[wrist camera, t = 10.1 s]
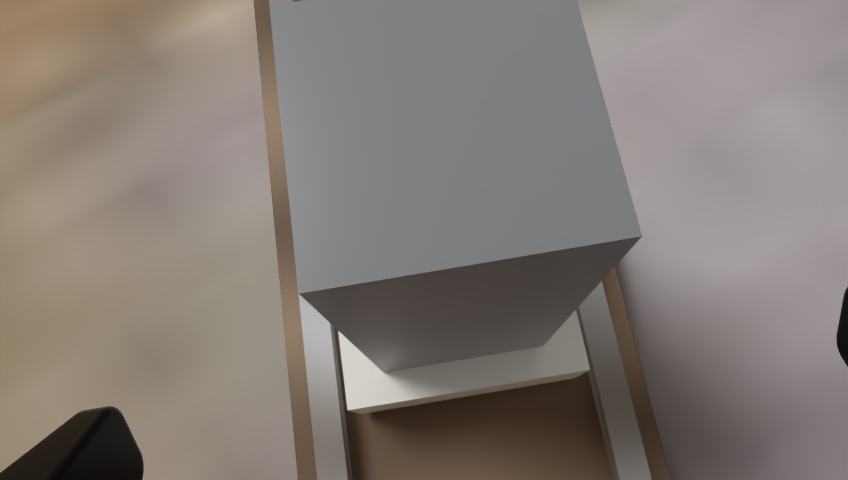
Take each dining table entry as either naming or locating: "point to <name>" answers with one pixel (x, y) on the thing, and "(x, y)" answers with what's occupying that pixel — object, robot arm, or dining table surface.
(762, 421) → the dining table surface
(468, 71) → the carriage
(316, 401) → the track
